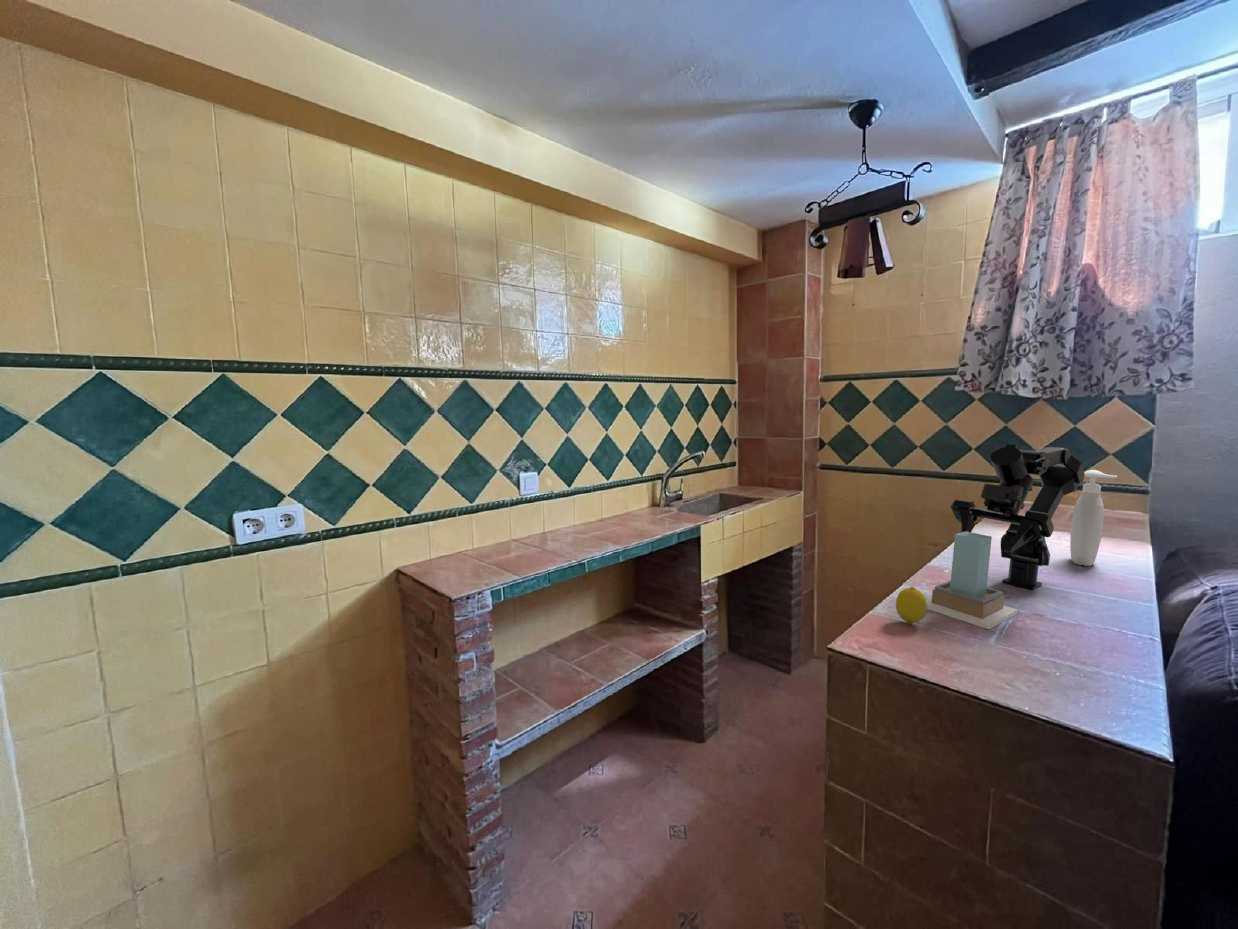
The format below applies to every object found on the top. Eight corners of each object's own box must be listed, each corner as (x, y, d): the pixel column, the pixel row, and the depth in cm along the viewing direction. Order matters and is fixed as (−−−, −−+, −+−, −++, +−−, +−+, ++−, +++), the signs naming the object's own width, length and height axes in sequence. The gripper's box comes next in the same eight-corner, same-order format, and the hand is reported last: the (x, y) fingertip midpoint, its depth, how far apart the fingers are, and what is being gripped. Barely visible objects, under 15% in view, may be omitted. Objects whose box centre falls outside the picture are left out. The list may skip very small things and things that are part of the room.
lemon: (929, 631, 101) (932, 593, 100) (899, 628, 102) (902, 591, 101) (919, 619, 107) (922, 583, 106) (890, 617, 108) (893, 581, 107)
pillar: (960, 586, 115) (966, 531, 113) (985, 594, 110) (991, 536, 109) (949, 591, 112) (955, 534, 110) (974, 598, 108) (980, 539, 106)
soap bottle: (1106, 572, 137) (1120, 474, 133) (1067, 566, 142) (1078, 471, 138) (1103, 560, 147) (1115, 469, 144) (1066, 554, 153) (1077, 466, 149)
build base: (947, 593, 121) (949, 574, 121) (1017, 614, 110) (1019, 593, 109) (917, 605, 114) (919, 585, 113) (988, 629, 102) (990, 607, 102)
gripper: (957, 466, 122) (930, 516, 118) (1054, 476, 106) (1028, 535, 102) (970, 494, 127) (944, 544, 123) (1064, 508, 112) (1039, 565, 107)
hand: (985, 546), depth 114 cm, fingers open, 9 cm apart
